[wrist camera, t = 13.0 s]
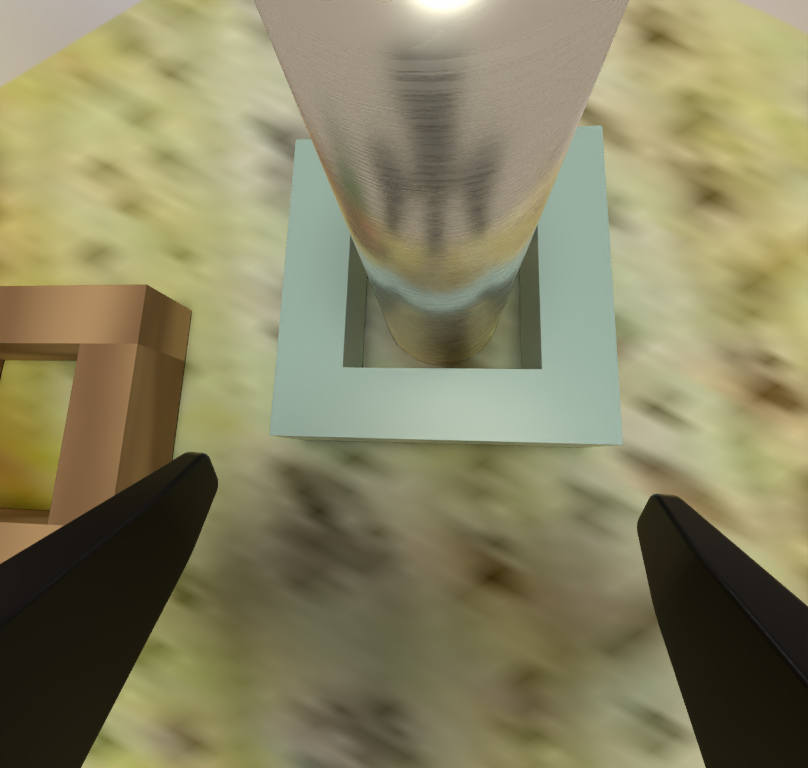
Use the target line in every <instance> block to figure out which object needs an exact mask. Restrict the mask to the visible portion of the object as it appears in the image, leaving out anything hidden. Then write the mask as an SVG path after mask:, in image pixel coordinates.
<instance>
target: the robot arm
mask: <svg viewBox="0 0 808 768" xmlns="http://www.w3.org/2000/svg"><path fill="white" fill-rule="evenodd" d="M217 488H218V479H217V476H216V473H215V471H214V468H213V465H212V463H211V460H210V458H209V456H208V455H207V454H205V453H196V452H187V453H184V454H182V455H181V456H179V457H177V458H176V459H174V460H172V461H171V462H169V463H167V464H166V465H164V466H162V467H161V468H159V469H157V470H156V471H154V472H152V473H151V474H149V475H147V476H146V477H144V478H142V479H141V480H139V481H137V482H136V483H134V484H132V485H131V486H129V487H127V488H126V489H124V490H122V491H121V492H119V493H117V494H116V495H114V496H112V497H111V498H109V499H107V500H106V501H104V502H102V503H101V504H99V505H97V506H96V507H94V508H92V509H91V510H89V511H87V512H86V513H84V514H82V515H81V516H79V517H77V518H76V519H74V520H72V521H71V522H69V523H67V524H66V525H64V526H62V527H61V528H59V529H57V530H56V531H54V532H52V533H51V534H49V535H47V536H46V537H44V538H42V539H41V540H39V541H37V542H36V543H34V544H32V545H31V546H29V547H27V548H26V549H24V550H22V551H21V552H19V553H17V554H16V555H14V556H12V557H11V558H9V559H7V560H6V561H4V562H2V563H1V564H0V768H81V767H82V765H83V763H84V761H85V759H86V757H87V755H88V753H89V751H90V749H91V747H92V746H93V744H94V742H95V740H96V738H97V736H98V734H99V732H100V730H101V728H102V726H103V724H104V722H105V720H106V719H107V717H108V715H109V713H110V711H111V709H112V707H113V705H114V703H115V701H116V699H117V697H118V695H119V693H120V692H121V690H122V688H123V686H124V684H125V682H126V680H127V678H128V676H129V674H130V672H131V670H132V668H133V666H134V665H135V663H136V661H137V659H138V657H139V655H140V653H141V651H142V649H143V647H144V645H145V643H146V641H147V640H148V638H149V636H150V634H151V632H152V630H153V628H154V626H155V624H156V622H157V620H158V618H159V616H160V614H161V613H162V611H163V609H164V607H165V605H166V603H167V601H168V599H169V597H170V595H171V593H172V591H173V589H174V587H175V586H176V584H177V582H178V580H179V578H180V576H181V574H182V572H183V570H184V568H185V566H186V564H187V562H188V560H189V558H190V556H191V554H192V551H193V549H194V547H195V544H196V542H197V539H198V537H199V534H200V532H201V529H202V527H203V524H204V522H205V519H206V517H207V514H208V512H209V509H210V507H211V504H212V502H213V499H214V497H215V494H216V492H217ZM637 532H638V537H639V542H640V546H641V551H642V556H643V560H644V565H645V570H646V574H647V579H648V584H649V588H650V593H651V598H652V602H653V606H654V610H655V614H656V617H657V620H658V624H659V627H660V630H661V633H662V636H663V639H664V642H665V645H666V648H667V651H668V654H669V657H670V660H671V663H672V666H673V669H674V672H675V675H676V678H677V682H678V685H679V688H680V691H681V694H682V697H683V700H684V703H685V706H686V709H687V712H688V715H689V718H690V721H691V724H692V727H693V730H694V733H695V736H696V739H697V742H698V745H699V748H700V751H701V754H702V757H703V760H704V763H705V767H706V768H808V606H807V605H806V604H804V603H803V602H802V601H801V600H800V599H799V598H797V597H796V596H795V595H794V594H793V593H792V592H790V591H789V590H788V589H787V588H786V587H784V586H783V585H782V584H781V583H780V582H779V581H777V580H776V579H775V578H774V577H773V576H772V575H770V574H769V573H768V572H767V571H766V570H764V569H763V568H762V567H761V566H760V565H759V564H757V563H756V562H755V561H754V560H753V559H752V558H750V557H749V556H748V555H747V554H746V553H744V552H743V551H742V550H741V549H740V548H739V547H737V546H736V545H735V544H734V543H733V542H731V541H730V540H729V539H728V538H727V537H726V536H724V535H723V534H722V533H721V532H720V531H719V530H717V529H716V528H715V527H714V526H713V525H711V524H710V523H709V522H708V521H707V520H706V519H704V518H703V517H702V516H701V515H700V514H699V513H697V512H696V511H695V510H694V509H693V508H691V507H690V506H689V505H688V504H687V503H686V502H684V501H683V500H682V499H681V498H679V497H677V496H674V495H665V494H653V495H652V496H650V498H649V500H648V502H647V504H646V506H645V508H644V509H643V511H642V513H641V515H640V517H639V519H638V523H637Z"/></svg>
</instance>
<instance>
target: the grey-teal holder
mask: <svg viewBox="0 0 808 768" xmlns="http://www.w3.org/2000/svg"><path fill="white" fill-rule="evenodd" d="M366 286H367V273H366V271H365V268H364V266H363V263H362V261H361V259H360V256H359V254H358V251H357V249H356V246H355V244H354V242H353V239H352V237H351V234H350V232H349V230H348V227H347V225H346V222H345V220H344V217H343V215H342V213H341V210H340V208H339V205H338V203H337V200H336V198H335V196H334V193H333V191H332V188H331V186H330V183H329V181H328V179H327V176H326V174H325V171H324V169H323V166H322V164H321V162H320V159H319V157H318V154H317V152H316V149H315V147H314V145H313V142H312V140H311V139H305V140H296V145H295V156H294V167H293V178H292V190H291V201H290V212H289V223H288V235H287V246H286V257H285V268H284V279H283V291H282V302H281V313H280V324H279V336H278V347H277V358H276V369H275V381H274V392H273V403H272V414H271V426H270V435H271V436H278V437H286V438H294V439H302V440H334V441H371V442H407V443H443V444H480V445H516V446H553V447H598V446H613V445H623V437H622V422H621V406H620V391H619V376H618V361H617V345H616V330H615V315H614V300H613V284H612V269H611V254H610V238H609V223H608V208H607V193H606V177H605V162H604V147H603V132H602V126H581V127H577V129H576V131H575V134H574V136H573V139H572V141H571V144H570V146H569V148H568V151H567V153H566V156H565V158H564V161H563V163H562V166H561V168H560V170H559V173H558V175H557V178H556V180H555V183H554V185H553V188H552V190H551V192H550V195H549V197H548V200H547V202H546V205H545V207H544V210H543V212H542V215H541V217H540V219H539V222H538V224H537V227H536V229H535V232H534V234H533V237H532V239H531V241H530V244H529V246H528V249H527V251H526V254H525V256H524V259H523V261H522V264H521V266H520V311H521V356H522V369H457V368H362V366H363V346H364V326H365V306H366Z"/></svg>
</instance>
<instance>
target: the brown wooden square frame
mask: <svg viewBox="0 0 808 768" xmlns="http://www.w3.org/2000/svg"><path fill="white" fill-rule="evenodd" d="M190 318H191V310H189V309H187V308H186V307H184V306H182V305H181V304H179V303H177V302H176V301H174V300H172V299H170V298H169V297H167V296H165V295H164V294H162V293H160V292H158V291H157V290H155V289H153V288H152V287H150V286H148V285H70V286H0V375H1V370H2V365H3V361H4V360H77V363H76V369H75V374H74V380H73V385H72V391H71V396H70V402H69V408H68V413H67V419H66V424H65V430H64V436H63V441H62V447H61V452H60V458H59V463H58V469H57V475H56V480H55V486H54V491H53V497H52V503H51V508H50V511H47V510H26V509H5V508H0V564H1V563H2V562H4V561H6V560H7V559H9V558H11V557H12V556H14V555H16V554H17V553H19V552H21V551H22V550H24V549H26V548H27V547H29V546H31V545H32V544H34V543H36V542H37V541H39V540H41V539H42V538H44V537H46V536H47V535H49V534H51V533H52V532H54V531H56V530H57V529H59V528H61V527H62V526H64V525H66V524H67V523H69V522H71V521H72V520H74V519H76V518H77V517H79V516H81V515H82V514H84V513H86V512H87V511H89V510H91V509H92V508H94V507H96V506H97V505H99V504H101V503H102V502H104V501H106V500H107V499H109V498H111V497H112V496H114V495H116V494H117V493H119V492H121V491H122V490H124V489H126V488H127V487H129V486H131V485H132V484H134V483H136V482H137V481H139V480H141V479H142V478H144V477H146V476H147V475H149V474H151V473H152V472H154V471H156V470H157V469H159V468H161V467H162V466H164V465H166V464H167V463H169V462H171V461H172V456H173V449H174V441H175V433H176V426H177V418H178V410H179V403H180V395H181V387H182V380H183V372H184V364H185V357H186V349H187V341H188V334H189V326H190Z"/></svg>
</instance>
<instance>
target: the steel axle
mask: <svg viewBox="0 0 808 768" xmlns="http://www.w3.org/2000/svg"><path fill="white" fill-rule="evenodd" d="M628 1H629V0H254V2H255V4H256V6H257V9H258V11H259V14H260V16H261V19H262V21H263V23H264V26H265V28H266V31H267V33H268V35H269V38H270V40H271V43H272V45H273V48H274V50H275V52H276V55H277V57H278V60H279V62H280V65H281V67H282V69H283V72H284V74H285V77H286V79H287V82H288V84H289V86H290V89H291V91H292V94H293V96H294V99H295V101H296V103H297V106H298V108H299V111H300V113H301V116H302V118H303V120H304V123H305V125H306V128H307V130H308V133H309V135H310V137H311V140H312V142H313V145H314V147H315V149H316V152H317V154H318V157H319V159H320V162H321V164H322V166H323V169H324V171H325V174H326V176H327V179H328V181H329V183H330V186H331V188H332V191H333V193H334V196H335V198H336V200H337V203H338V205H339V208H340V210H341V213H342V215H343V217H344V220H345V222H346V225H347V227H348V230H349V232H350V234H351V237H352V239H353V242H354V244H355V246H356V249H357V251H358V254H359V256H360V259H361V261H362V263H363V266H364V268H365V271H366V273H367V276H368V278H369V280H370V283H371V285H372V288H373V290H374V293H375V295H376V297H377V300H378V302H379V305H380V307H381V310H382V312H383V314H384V317H385V319H386V322H387V324H388V327H389V329H390V331H391V334H392V336H393V338H394V339H395V341H396V342H397V344H398V345H399V346H400V347H401V348H402V349H403V350H404V351H405V352H406V353H407V354H409V355H410V356H412V357H413V358H415V359H417V360H419V361H422V362H425V363H429V364H435V365H448V364H454V363H458V362H461V361H464V360H466V359H468V358H470V357H472V356H473V355H475V354H476V353H477V352H479V351H480V350H481V349H482V348H483V347H484V346H485V345H486V343H487V342H488V341H489V339H490V338H491V336H492V334H493V332H494V330H495V327H496V325H497V322H498V320H499V317H500V315H501V312H502V310H503V308H504V305H505V303H506V300H507V298H508V295H509V293H510V290H511V288H512V286H513V283H514V281H515V278H516V276H517V273H518V271H519V268H520V266H521V264H522V261H523V259H524V256H525V254H526V251H527V249H528V246H529V244H530V241H531V239H532V237H533V234H534V232H535V229H536V227H537V224H538V222H539V219H540V217H541V215H542V212H543V210H544V207H545V205H546V202H547V200H548V197H549V195H550V192H551V190H552V188H553V185H554V183H555V180H556V178H557V175H558V173H559V170H560V168H561V166H562V163H563V161H564V158H565V156H566V153H567V151H568V148H569V146H570V144H571V141H572V139H573V136H574V134H575V131H576V129H577V126H578V124H579V121H580V119H581V117H582V114H583V112H584V109H585V107H586V104H587V102H588V99H589V97H590V95H591V92H592V90H593V87H594V85H595V82H596V80H597V77H598V75H599V73H600V70H601V68H602V65H603V63H604V60H605V58H606V55H607V53H608V50H609V48H610V46H611V43H612V41H613V38H614V36H615V33H616V31H617V28H618V26H619V24H620V21H621V19H622V16H623V14H624V11H625V9H626V6H627V4H628Z"/></svg>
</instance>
